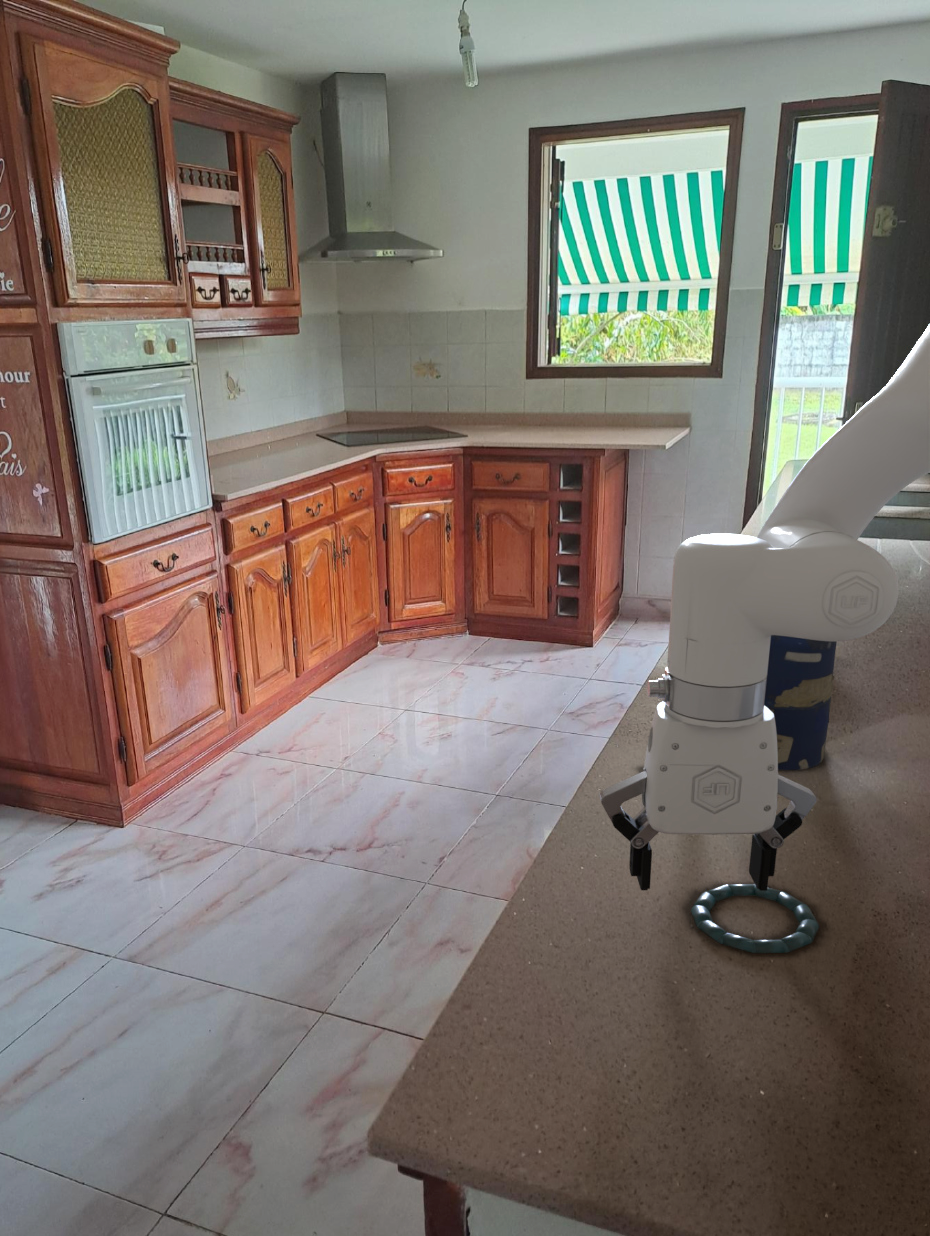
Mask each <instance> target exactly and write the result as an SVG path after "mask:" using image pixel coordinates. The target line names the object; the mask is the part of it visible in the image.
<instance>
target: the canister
mask: <svg viewBox="0 0 930 1236" xmlns="http://www.w3.org/2000/svg"><path fill="white" fill-rule="evenodd" d="M837 643H838V641H819V640H810V639H803V638H796V637H788V636H778V635H771V640H770V650H769V660H768V670H767V681H766V691H765V702H764V705H765V706H766V707H767V708H768V709H769V710H770V711H772V712H773V714H774V717H775V724H776V733H777V751H778V771H799V770H807V769H810V768H815V767H816V766H818V765H820V764H821V763H822V762H823V760H824V758H825V753H826V745H827V744H826V743H827V737H828V728H829V723H830V714H831V705H832V693H833V687H834V684H833V683H834V682H833V681H834V679H835V676H834V669H835V659H836V652H837V651H836V650H837Z"/></svg>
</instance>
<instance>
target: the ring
mask: <svg viewBox="0 0 930 1236" xmlns="http://www.w3.org/2000/svg"><path fill="white" fill-rule="evenodd" d="M733 896H734V897H735V896H738V897H739V896H740V897H741V896H754V897H758V898H762V899H768V900H770V901H775V902H777V903H779V904H780V905H782V906H783V907H785V908H787V909H788V910H790V911H791V912H792V913H793V914H794V917H795V918H796V920H797V923H798V926H797V928H796V930H795V932H794V933H792V934H790V935H787V936H785V937H782V938H780V939H752V938H749V937H744V936H741V935H737V934H733V933H730V932H728V931H727V930H725V929H724V928H723V927H721V926H719V925H718V924H716V923H715V922H714V920H713V918H712V915H711V913H710V912H711V910H712V908H714V906H715V904H716V903H717V902H719V901H721V900H724V899H727V898H731V897H733ZM690 912H691V914H692V917H693V920H694V923H695V926H696V927H697V928H698V929H699V930H700V931H702V933H704V934H706V935H707V936H708V937H710V938H712V939H713V940H714V941H716V942H717V943H719V944H721V945H724V946H727V947H731V948H735V949H738V950H742V951H745V952H749V953H753V954H777V953H778V954H779V953H780V954H785V953H790V952H793V951H795V950H798V949H799V948H802V947H805V946H808V945H809V944H810V945H811V943H813V941H814V939H815V937H816V934H817V932H818V930H819V929H820V924H819V922H818V921H817V919H816V917H815V915H814V914H813V912H812V910H811V908H810V907H809V906H808V905H807V904H805V903H804V902H802V900H799V899H798V898H795V897H794V896H793V895H791V894H789V893H787V892H785V891H783V890H779V889H776V888H771V887H767V891H760V890H759V889H757V887H756V885H755V883H747V884H746V883H744V884H743V883H742V884H741V883H739V884H735V883H734V884H733V883H732V884H723V885H721V886H717V887H715V888H713V889H709V890H706V891H703V892H702V893H701V894H700V895H699V897H698V898H697V900H696V901H695V902H694V904H693V905H692V907H691V908H690Z"/></svg>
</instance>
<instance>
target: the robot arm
mask: <svg viewBox="0 0 930 1236" xmlns="http://www.w3.org/2000/svg"><path fill="white" fill-rule="evenodd" d="M911 349H912V350H911V351H910V352H909V353H908V355H907V357H905V360H904V361H903V363H902V364H901V365H900V366H899V368H898V369H897V371H896V372H895V374H894V375H893V376H892V377H891V378H890V380H889V381H888V383H887V384H886V385H885V386H884V387H883V388H882V389H881V390H880V391H879V392H878V393H877V394H876V395H874V396H873V397H872V398H871V399H870V400H868V401H867V402H866V403H865V404H864V405H863V406H862V407H860V408H859V409H858V410H857V411H856V413H854V415H852V416H851V418H849V420H847V421H846V422H845V424H843V425H842V426H841V427H840V428H839V429H838V430H837V431H835V433H834V434H832V436H830V437H828V439H827V440H826V441H825V442H824V443H823V444H822V445H821V446H820V447H819V448H818V449H817V450H816V451H815V452H814V453H813V454H812V456H811V457H810V458H809V459H808V460H807V461H806V462H805V464H804V465H803V466H802V468H801V469H800V470H799V471H798V473H797V474H796V476H795V477H794V478H793V480H792V481H791V483H790V484H789V485H788V487H787V488H786V489H785V492H784V493H783V494H782V495H781V498H780V499H779V500H778V501H777V503H776V505H775V507H774V508H773V509H772V511H771V512H770V514H769V516H768V517H767V519H766V520H765V522H764V523H763V525H762V527H761V529H760V530H759V532H758V535H757V536H751V535H745V534H737V533H710V534H709V533H708V534H700V535H696V536H693V537H689V538H688V539H686V540H684V541H683V542H681V543H680V544H679V546H678V547H677V549H676V551H675V553H674V557H673V565H672V581H671V596H670V597H671V598H670V614H669V630H668V647H667V662H666V667H665V668H664V674H662V675H661V678H656V680H655V679H653V680H647V686H646V690H647V691H646V693H647V697H648V698H657V699H661V700H662V701H661V702H659V703H658V704H657V706H656V708H655V712H654V714H653V719H652V722H651V726H650V731H649V736H648V740H647V746H646V751H645V758H644V765H643V769H644V771H641V772H638V773H636V774H635V775H632V776H630V777H628V778H626V779H624V780H621V781H620V782H617V783H615V784H612V785H611V786H608V787H606V788H603V789H602V790H601V791H600V792H599V795H598V796H599V799H600V804H601V805H602V807H603V809H604V810H605V813H606V815H607V816H608V818H609V819H610V821H611V823H612V827H613V828H614V829H616V831H618V832H619V833H620V834H621V835H622V836H623V837H625V839H627V841H629V842H630V846H629V874H630V876H631V877H636V879H637V882H638V886H639V889H640V891H648V890H650V889H651V876H652V858H653V849H652V847H651V844H650V841H651V840H653V838H654V837H656V836H657V835H658V834H659V833H661V834H667V835H751V844H750V856H749V864H748V865H749V866H748V873H749V876H750V878H751V879H752V881H753V884H755V885H756V887H757V889H759V890H760V891H767V887H768V885H769V878H770V877H774V876H775V870H776V862H777V853H778V852H777V851H778V849H780V848H781V847H782V846H783V845H784V842H785V839H787V838H788V837H789V836H791V835H792V834H793V833H795V831H797V830H798V829H799V828H801V826H802V825H803V820H804V819H805V818H806V817H807V816H808V815H809V813H810V812H811V810H812V809H813V807H814V806H815V805H816V803H817V796H816V795H815V793H814V792H813V791H812V790H811V789H810V788H808V787H806V786H804V785H802V784H800V783H798V782H796V781H793V780H791V779H790V778H787V777H785V776H783V775H781V774H779V770H778V751H777V733H776V724H775V717H774V714H773V712H772V711H770V710H769V709H768V708H767V707H766V706H765V705H764V702H765V691H766V681H767V670H768V660H769V650H770V640H771V635H778V636H788V637H796V638H803V639H810V640H819V641H837V642H846V641H852V640H857V639H860V638H863V637H865V636H868V635H871V633H873V632H875V631H877V630H878V629H879V628H880V627H882V626H883V625H884V624H885V623H886V622H887V621H888V620H889V619H890V617H891V616H892V614H893V612H894V611H895V609H896V607H897V603H898V600H899V593H900V588H899V587H900V586H899V581H898V577H897V574H896V571H895V570H894V568H893V566H892V564H891V563H890V562H889V560H888V559H887V558H886V557H884V555H883V554H882V553H880V552H879V551H878V550H876V549H874V548H873V547H872V546H870V545H868V544H866V543H864V542H863V541H860V540H859V538H860V537H861V536H862V534H863V532H864V531H865V530H866V529H867V527H868V526H869V524H870V523H871V522H872V521H873V519H874V518H875V517H876V516H877V514H878V513H879V512H880V511H881V510H882V509H883V508H884V507H885V506H886V504H887V503H889V502H890V501H891V500H892V499H893V498H894V497H895V496H896V495H897V494H899V493H900V492H901V491H902V490H904V489H905V488H906V487H908V486H910V485H911V484H912V483H913V482H915V481H917V480H918V479H920V478H922V477H923V476H925V475H927V474H929V473H930V323H929V324H928V326H927V327H926V329H925V331H924V332H923V334H922V335H921V336H920V338H919V339H918V340H917V341H916V343H915V344H914V346H913V348H911ZM640 795H641V803H642V806H643V807H642V808H641V810H640V811H638V813H637V814H635V816H634V817H631V815H630V814H628V813H627V812H626V811H625V810H624V809H623V807H622V805H623V804H624V803H625V802H627V801H630V800H631V799H634V798H637V797H638V796H640ZM778 796H781V797H783V798H785V799H787V800H790V802H789V803H788V806H787V807H785V808H783V809H782V810H781V811H780V812H779V813H777V811H778V810H777V809H778ZM768 888H769V887H768Z"/></svg>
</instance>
